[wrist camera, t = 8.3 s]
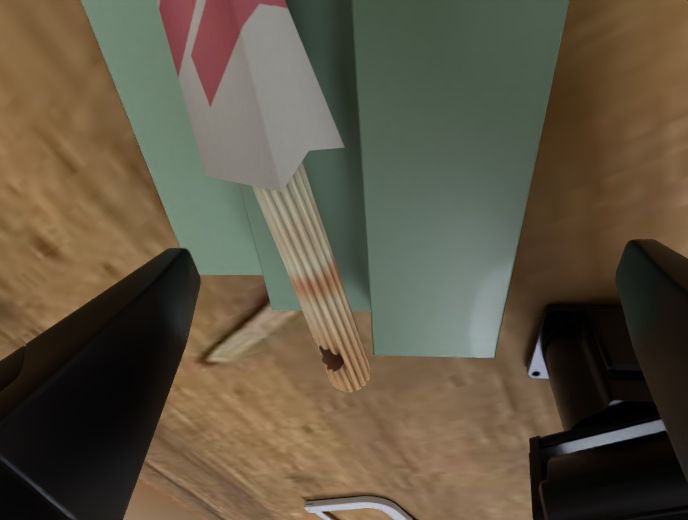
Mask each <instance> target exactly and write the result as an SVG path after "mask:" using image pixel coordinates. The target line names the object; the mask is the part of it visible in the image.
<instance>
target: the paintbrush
mask: <svg viewBox="0 0 688 520" xmlns="http://www.w3.org/2000/svg"><path fill="white" fill-rule="evenodd" d="M157 3H158V7H159V11H160V14H161V18H162V21H163V25H164V29H165V32H166V36H167V40H168V43H169V47H170V50H171V54H172V58H173V61H174V65H175V68H176V72H177V76H178V79H179V83H180V86H181V90H182V94H183V97H184V101H185V104H186V108H187V112H188V115H189V119H190V122H191V126H192V130H193V133H194V137H195V140H196V144H197V148H198V151H199V155H200V158H201V162H202V166H203V169H204V173H205V176H207V177H212V178H217V179H222V180H227V181H231V182H236V183H241V184H246V185H251V186H252V188H253V191H254V193H255V196H256V198H257V200H258V203H259V205H260V207H261V210H262V212H263V215H264V217H265V219H266V222H267V224H268V227H269V229H270V231H271V234H272V236H273V239H274V241H275V243H276V246H277V248H278V251H279V253H280V256H281V258H282V260H283V263H284V265H285V268H286V270H287V273H288V275H289V278H290V280H291V283H292V285H293V288H294V291H295V293H296V296H297V298H298V301H299V303H300V306H301V308H302V311H303V313H304V316H305V319H306V321H307V324H308V326H309V329H310V331H311V334H312V336H313V339H314V341H315V344H316V345H318V347H319V350H320V352H321V355H322V361H323V364H324V366H325V369H326V371H327V374H328V376H329V379H330V381H331V384H332V385H333V386H335V388H336V389H337V390H341V391H342V392H346V391H349V392H353V391H354V389H356V390H359V389H360V388H361V386H366V381H367V380H369V379H370V373H371V369H370V366H369V363H368V360H367V357H366V354H365V351H364V348H363V345H362V343H361V340H360V337H359V334H358V329H357V326H356V323H355V320H354V317H353V314H352V311H351V308H350V305H349V302H348V298H347V295H346V292H345V289H344V286H343V283H342V280H341V277H340V274H339V271H338V268H337V265H336V262H335V259H334V256H333V253H332V250H331V247H330V244H329V241H328V238H327V235H326V232H325V229H324V226H323V224H322V221H321V218H320V215H319V212H318V209H317V206H316V203H315V200H314V197H313V194H312V190H311V187H310V184H309V181H308V178H307V174H306V171H305V168H304V165H303V161H302V160H303V159H304V157H305V156H306V154H307V153H308V151H312V150H323V149H334V148H345V147H344V145H343V142H342V140H341V137H340V135H339V132H338V130H337V127H336V125H335V122H334V120H333V118H332V115H331V113H330V110H329V108H328V105H327V103H326V100H325V98H324V95H323V93H322V91H321V88H320V86H319V83H318V81H317V78H316V76H315V73H314V71H313V69H312V66H311V64H310V61H309V59H308V56H307V54H306V51H305V49H304V46H303V44H302V42H301V39H300V37H299V34H298V32H297V29H296V27H295V24H294V22H293V20H292V17H291V15H290V12H289V10H288V7H287V5H286V2H285V0H157Z"/></svg>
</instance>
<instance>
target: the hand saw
mask: <svg viewBox="0 0 688 520" xmlns="http://www.w3.org/2000/svg"><path fill="white" fill-rule="evenodd" d="M304 508H305V509H307V511H308V512H309V513H312V512H314V513H316V514H317V515H318V516H320V517H321V518H322V519H324V520H331V519H329V518H328V517H327V516H325V515H324V514H323V513H321V512H323V511H335V510H347V509H359V508H375V509H379V510H382V511H384V512H386V513H387V514H388V515H390V516H391V517H392V518H393V519H394V520H413V519H412V518H411V517H410V516H409V515H407V514H406V513H405V512H404V511H403V510H402V509H401V508H399V507H398V506H397V505H396V504H395V503H393V502H391V501H389V500H386V499H383V498H379V497H371V496H361V497H351V498H340V499H329V500H318V501H308V502H305V505H304Z"/></svg>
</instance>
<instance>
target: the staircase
mask: <svg viewBox="0 0 688 520" xmlns="http://www.w3.org/2000/svg"><path fill="white" fill-rule="evenodd" d="M81 2H82V4H83V7H84V9H85V12H86V14H87V17H88V19H89V22H90V24H91V27H92V29H93V32H94V34H95V37H96V39H97V42H98V44H99V47H100V49H101V51H102V54H103V56H104V59H105V61H106V64H107V66H108V69H109V71H110V74H111V76H112V79H113V81H114V84H115V86H116V89H117V91H118V94H119V96H120V99H121V101H122V104H123V106H124V109H125V111H126V114H127V116H128V119H129V121H130V124H131V126H132V129H133V131H134V134H135V136H136V139H137V141H138V144H139V146H140V149H141V151H142V154H143V156H144V159H145V161H146V164H147V166H148V169H149V171H150V174H151V176H152V179H153V181H154V184H155V186H156V189H157V191H158V194H159V196H160V199H161V201H162V204H163V206H164V209H165V211H166V214H167V216H168V219H169V221H170V224H171V226H172V229H173V231H174V233H175V236H176V238H177V241H178V243H179V246H180V248H186V249H188V250H189V251H190V253H191V255H192V258H193V260H194V262H195V265H196V267H197V270H198V272H199V275H263V277H264V281H265V285H266V289H267V292H268V296H269V300H270V304H271V308H272V310H292V311H302V308H301V306H300V303H299V301H298V298H297V296H296V293H295V291H294V288H293V285H292V283H291V280H290V278H289V275H288V273H287V270H286V268H285V265H284V263H283V260H282V258H281V256H280V253H279V251H278V248H277V246H276V243H275V241H274V239H273V236H272V234H271V231H270V229H269V227H268V224H267V222H266V219H265V217H264V215H263V212H262V210H261V207H260V205H259V203H258V200H257V198H256V196H255V193H254V191H253V188H252V186H251V185H246V184H241V183H236V182H231V181H227V180H222V179H217V178H212V177H207V176H205V173H204V169H203V166H202V162H201V158H200V155H199V151H198V148H197V144H196V140H195V137H194V133H193V130H192V126H191V122H190V119H189V115H188V112H187V108H186V104H185V101H184V97H183V94H182V90H181V86H180V83H179V79H178V76H177V72H176V68H175V65H174V61H173V58H172V54H171V50H170V47H169V43H168V40H167V36H166V32H165V29H164V25H163V21H162V18H161V14H160V11H159V7H158V3H157V0H81ZM285 2H286V5H287V7H288V10H289V12H290V15H291V17H292V20H293V22H294V24H295V27H296V29H297V32H298V34H299V37H300V39H301V42H302V44H303V46H304V49H305V51H306V54H307V56H308V59H309V61H310V64H311V66H312V69H313V71H314V73H315V76H316V78H317V81H318V83H319V86H320V88H321V91H322V93H323V95H324V98H325V100H326V103H327V105H328V108H329V110H330V113H331V115H332V118H333V120H334V122H335V125H336V127H337V130H338V132H339V135H340V137H341V140H342V142H343V145H344V147H345V148H334V149H323V150H312V151H308V153H307V154H306V156H305V157H304V159H303V160H302V161H303V165H304V168H305V171H306V174H307V178H308V181H309V184H310V187H311V190H312V194H313V197H314V200H315V203H316V206H317V209H318V212H319V215H320V218H321V221H322V224H323V226H324V229H325V232H326V235H327V238H328V241H329V244H330V247H331V250H332V253H333V256H334V259H335V262H336V265H337V268H338V271H339V274H340V277H341V280H342V283H343V286H344V289H345V292H346V295H347V298H348V302H349V305H350V308H351V311H365V312H371V323H372V339H373V354H374V355H388V356H427V357H466V358H494V357H495V353H496V348H497V343H498V338H499V334H500V329H501V324H502V319H503V315H504V310H505V305H506V300H507V296H508V291H509V286H510V281H511V277H512V272H513V267H514V262H515V258H516V253H517V248H518V243H519V238H520V234H521V229H522V224H523V219H524V215H525V210H526V205H527V200H528V196H529V191H530V186H531V181H532V177H533V172H534V167H535V162H536V158H537V153H538V148H539V143H540V138H541V134H542V129H543V124H544V119H545V115H546V110H547V105H548V100H549V96H550V91H551V86H552V81H553V77H554V72H555V67H556V62H557V58H558V53H559V48H560V43H561V39H562V34H563V29H564V24H565V19H566V15H567V10H568V5H569V0H285Z"/></svg>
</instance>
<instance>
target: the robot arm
mask: <svg viewBox="0 0 688 520" xmlns="http://www.w3.org/2000/svg"><path fill="white" fill-rule="evenodd" d="M200 283H201V281H200V275H199V272H198V270H197V267H196V265H195V262H194V260H193V258H192V255H191V253H190V251H189V250H188V249H186V248H169V249H167V250H165V251H164V252H162V253H161V254H159V255H158V256H156V257H155V258H153V259H152V260H150V261H149V262H147V263H146V264H144V265H143V266H141V267H140V268H138V269H137V270H135V271H134V272H132V273H131V274H129V275H128V276H126V277H125V278H124V279H122V280H121V281H119V282H118V283H116V284H115V285H113V286H112V287H110V288H109V289H107V290H106V291H104V292H103V293H101V294H100V295H98V296H97V297H95V298H94V299H92V300H91V301H89V302H88V303H86V304H85V305H83V306H82V307H80V308H79V309H77V310H76V311H74V312H73V313H71V314H70V315H68V316H67V317H65V318H64V319H62V320H61V321H59V322H58V323H57V324H55V325H54V326H52V327H51V328H49V329H48V330H46V331H45V332H43V333H42V334H40V335H39V336H37V337H36V338H34V339H33V340H31V341H30V342H28V343H27V344H26V347H25V346H22V347H21V348H19V349H18V350H16V351H15V352H13V353H12V354H10V355H9V356H7V357H6V358H4V359H3V360H1V361H0V520H123V518H124V515H125V512H126V509H127V507H128V504H129V501H130V499H131V496H132V493H133V490H134V488H135V485H136V482H137V479H138V477H139V474H140V471H141V468H142V465H143V463H144V460H145V457H146V454H147V452H148V449H149V446H150V443H151V441H152V438H153V435H154V432H155V430H156V427H157V424H158V421H159V419H160V416H161V413H162V410H163V408H164V405H165V402H166V399H167V396H168V394H169V391H170V388H171V385H172V383H173V380H174V377H175V374H176V372H177V369H178V366H179V363H180V361H181V358H182V355H183V352H184V349H185V346H186V343H187V339H188V336H189V332H190V327H191V323H192V319H193V315H194V310H195V306H196V302H197V298H198V293H199V289H200ZM616 285H617V289H618V292H619V296H620V300H621V304H622V305H584V304H552V305H549V306H547V307H545V309H544V310H543V314H542V317H541V321H540V324H539V328H538V331H537V335H536V338H535V342H534V345H533V348H532V352H531V355H530V359H529V362H528V366H527V373H528V376H529V377H531V378H535V379H549V380H550V384H551V387H552V391H553V394H554V398H555V401H556V405H557V408H558V412H559V415H560V419H561V422H562V426H563V429H564V431H563V432H559V433H555V434H551V435H547V436H543V437H540V436H536V437H532V438H530V439H529V441H530V453H529V462H530V479H531V496H532V513H533V520H688V259H687V258H686V257H684V256H682V255H681V254H679V253H677V252H675V251H674V250H672V249H670V248H668V247H667V246H665V245H663V244H662V243H660V242H658V241H656V240H654V239H633V240H630V241H629V242H628V243H627V244H626V246H625V249H624V252H623V254H622V257H621V260H620V262H619V265H618V268H617V271H616ZM554 312H555V313H554Z"/></svg>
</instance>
